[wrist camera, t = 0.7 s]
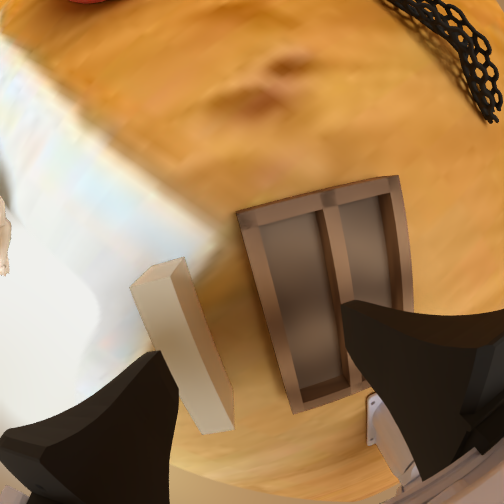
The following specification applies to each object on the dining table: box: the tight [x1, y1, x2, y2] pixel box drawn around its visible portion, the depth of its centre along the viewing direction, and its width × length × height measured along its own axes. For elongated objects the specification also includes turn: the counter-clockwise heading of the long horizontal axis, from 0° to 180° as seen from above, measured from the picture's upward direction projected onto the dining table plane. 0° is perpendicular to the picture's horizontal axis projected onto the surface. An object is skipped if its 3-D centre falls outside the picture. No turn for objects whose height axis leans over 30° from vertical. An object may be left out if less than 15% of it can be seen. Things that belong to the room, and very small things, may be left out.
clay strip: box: [129, 257, 235, 435], centre depth 18 cm, size 12×2×5 cm, turn 16°
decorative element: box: [389, 0, 503, 124], centre depth 14 cm, size 22×5×6 cm, turn 48°
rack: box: [236, 175, 414, 414], centre depth 19 cm, size 16×11×3 cm
